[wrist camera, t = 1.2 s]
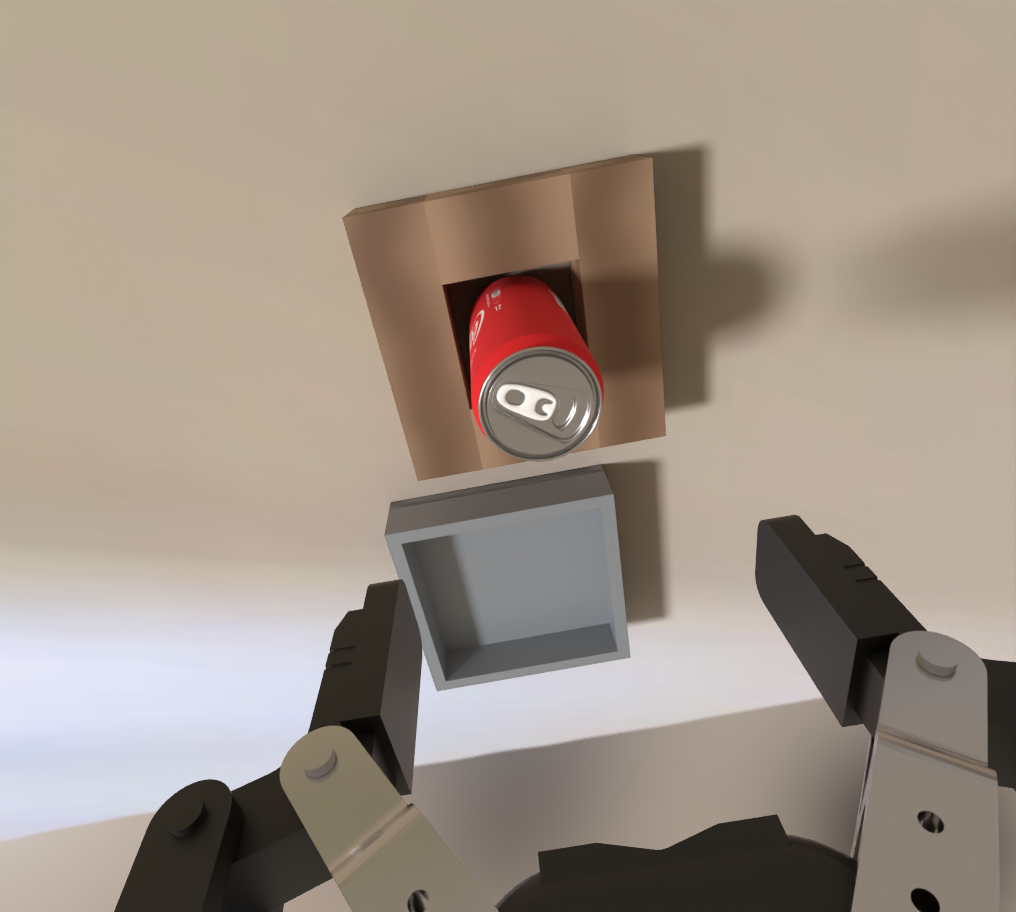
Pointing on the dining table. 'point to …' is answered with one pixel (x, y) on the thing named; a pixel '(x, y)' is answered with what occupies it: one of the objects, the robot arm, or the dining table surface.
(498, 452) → the socket holder
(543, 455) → the beverage can
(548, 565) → the tray
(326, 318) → the dining table surface
